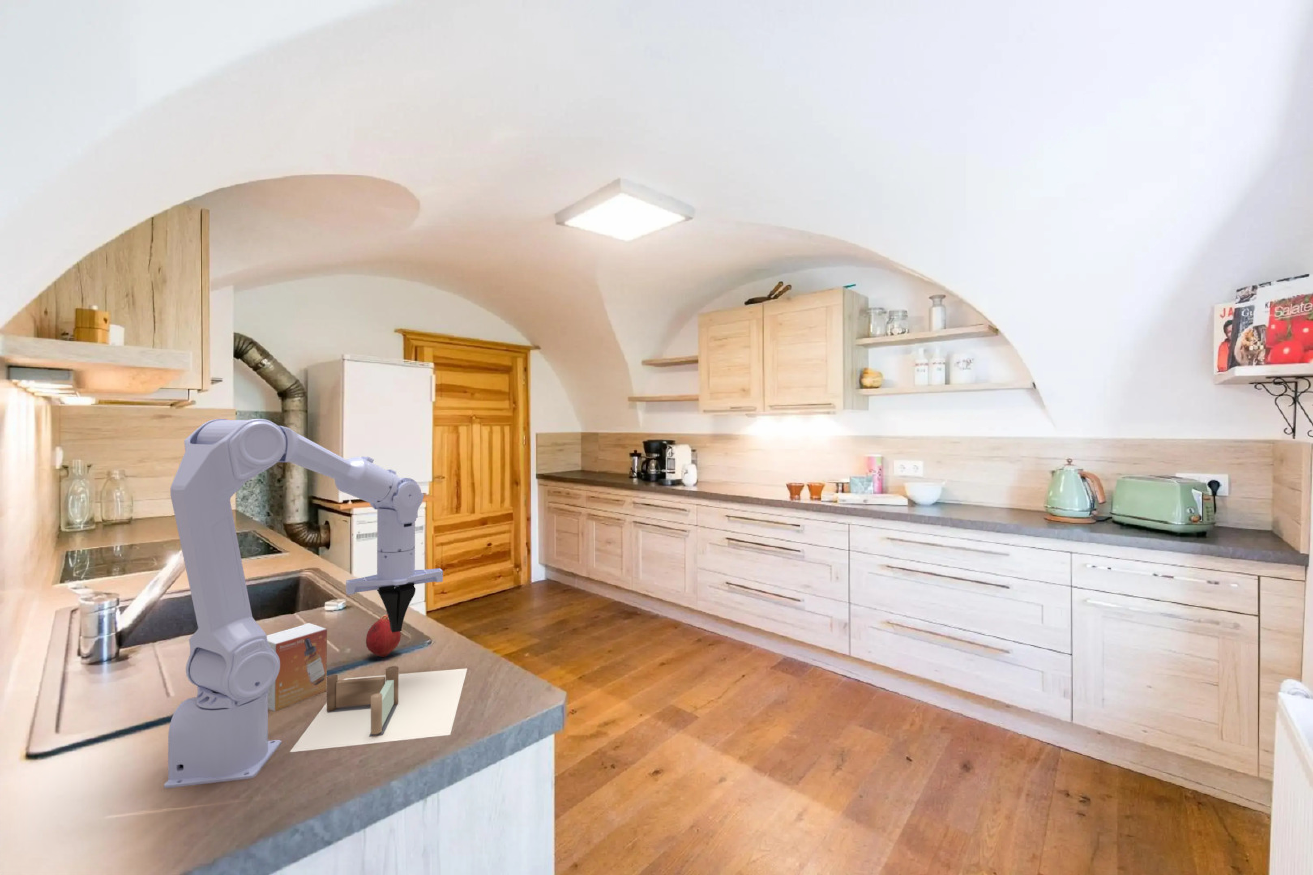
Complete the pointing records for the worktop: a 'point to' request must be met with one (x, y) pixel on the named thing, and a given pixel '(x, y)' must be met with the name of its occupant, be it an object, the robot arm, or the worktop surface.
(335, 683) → the fixed fence
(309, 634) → the small box
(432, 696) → the card
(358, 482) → the robot arm
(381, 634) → the onion
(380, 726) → the panel
